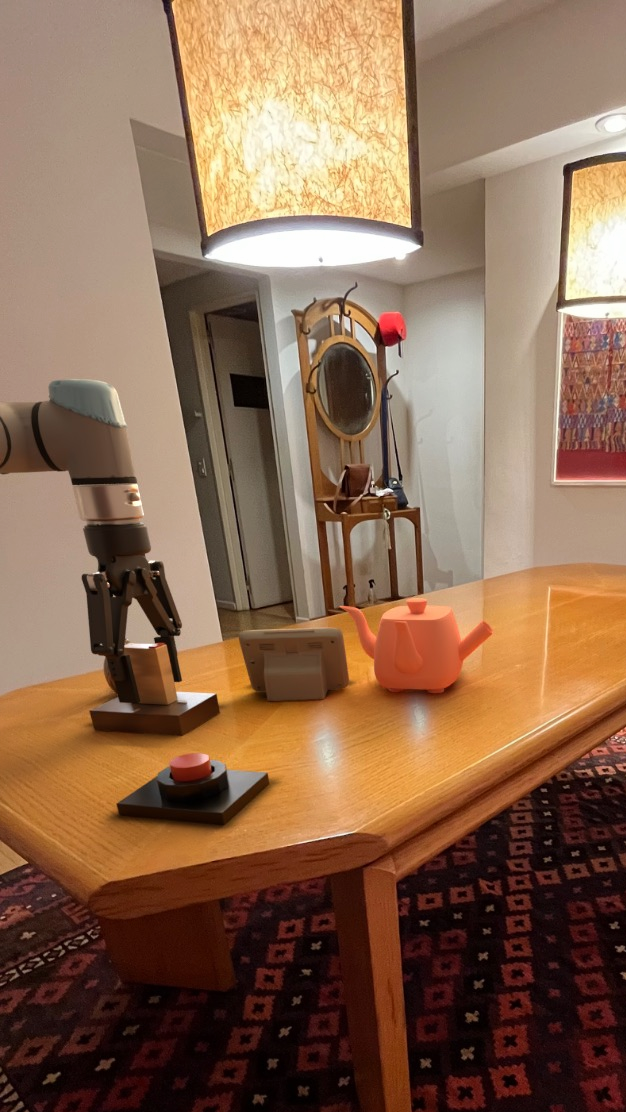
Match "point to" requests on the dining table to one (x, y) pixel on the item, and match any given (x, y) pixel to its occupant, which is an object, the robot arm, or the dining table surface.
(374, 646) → the teapot
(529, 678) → the dining table surface
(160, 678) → the handle
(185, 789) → the button block
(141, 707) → the panel
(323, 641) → the digital clock
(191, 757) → the button
